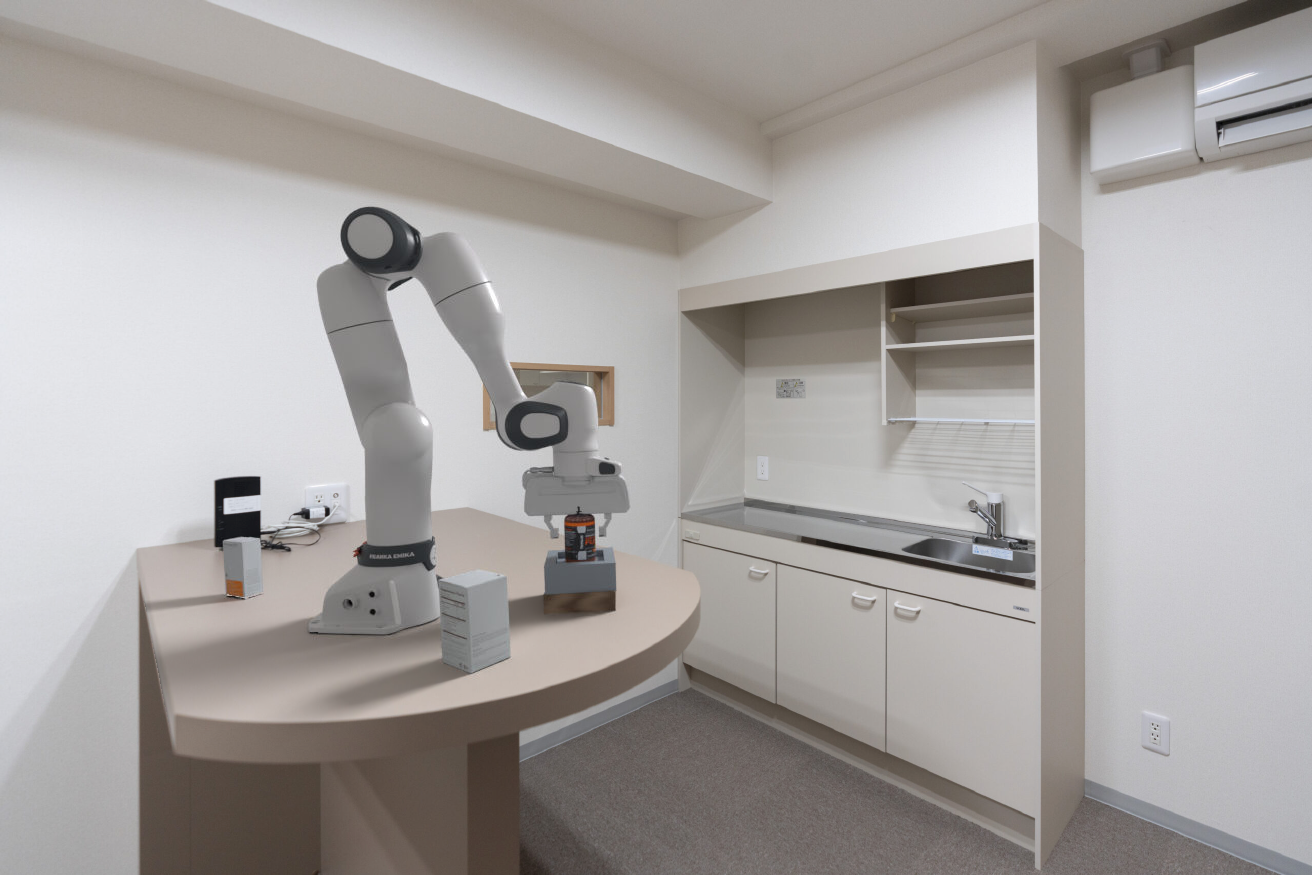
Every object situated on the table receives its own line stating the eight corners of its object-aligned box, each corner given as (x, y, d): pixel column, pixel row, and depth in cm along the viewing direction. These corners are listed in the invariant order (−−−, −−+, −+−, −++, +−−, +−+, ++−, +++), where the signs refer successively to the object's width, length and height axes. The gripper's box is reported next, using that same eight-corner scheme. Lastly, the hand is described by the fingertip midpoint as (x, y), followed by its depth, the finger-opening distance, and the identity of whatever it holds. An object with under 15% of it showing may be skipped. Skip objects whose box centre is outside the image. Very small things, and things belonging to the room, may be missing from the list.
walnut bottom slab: (544, 616, 114) (543, 594, 114) (551, 595, 127) (551, 575, 127) (615, 613, 114) (615, 591, 114) (616, 592, 127) (615, 573, 127)
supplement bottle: (590, 566, 117) (589, 506, 117) (560, 565, 119) (558, 506, 118) (599, 558, 123) (598, 501, 123) (571, 557, 124) (569, 501, 124)
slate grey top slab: (545, 594, 114) (544, 566, 113) (549, 575, 127) (548, 550, 126) (616, 590, 115) (615, 562, 115) (613, 572, 128) (612, 547, 128)
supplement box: (482, 646, 99) (479, 567, 98) (512, 657, 94) (508, 574, 93) (440, 662, 93) (436, 578, 92) (469, 674, 88) (465, 586, 88)
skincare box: (224, 597, 130) (221, 540, 129) (245, 591, 134) (241, 536, 133) (244, 599, 128) (241, 541, 127) (264, 593, 132) (261, 537, 131)
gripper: (519, 469, 116) (521, 542, 117) (629, 465, 117) (631, 538, 118) (524, 466, 122) (526, 535, 123) (628, 462, 124) (630, 531, 124)
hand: (578, 537), depth 120 cm, fingers open, 8 cm apart
